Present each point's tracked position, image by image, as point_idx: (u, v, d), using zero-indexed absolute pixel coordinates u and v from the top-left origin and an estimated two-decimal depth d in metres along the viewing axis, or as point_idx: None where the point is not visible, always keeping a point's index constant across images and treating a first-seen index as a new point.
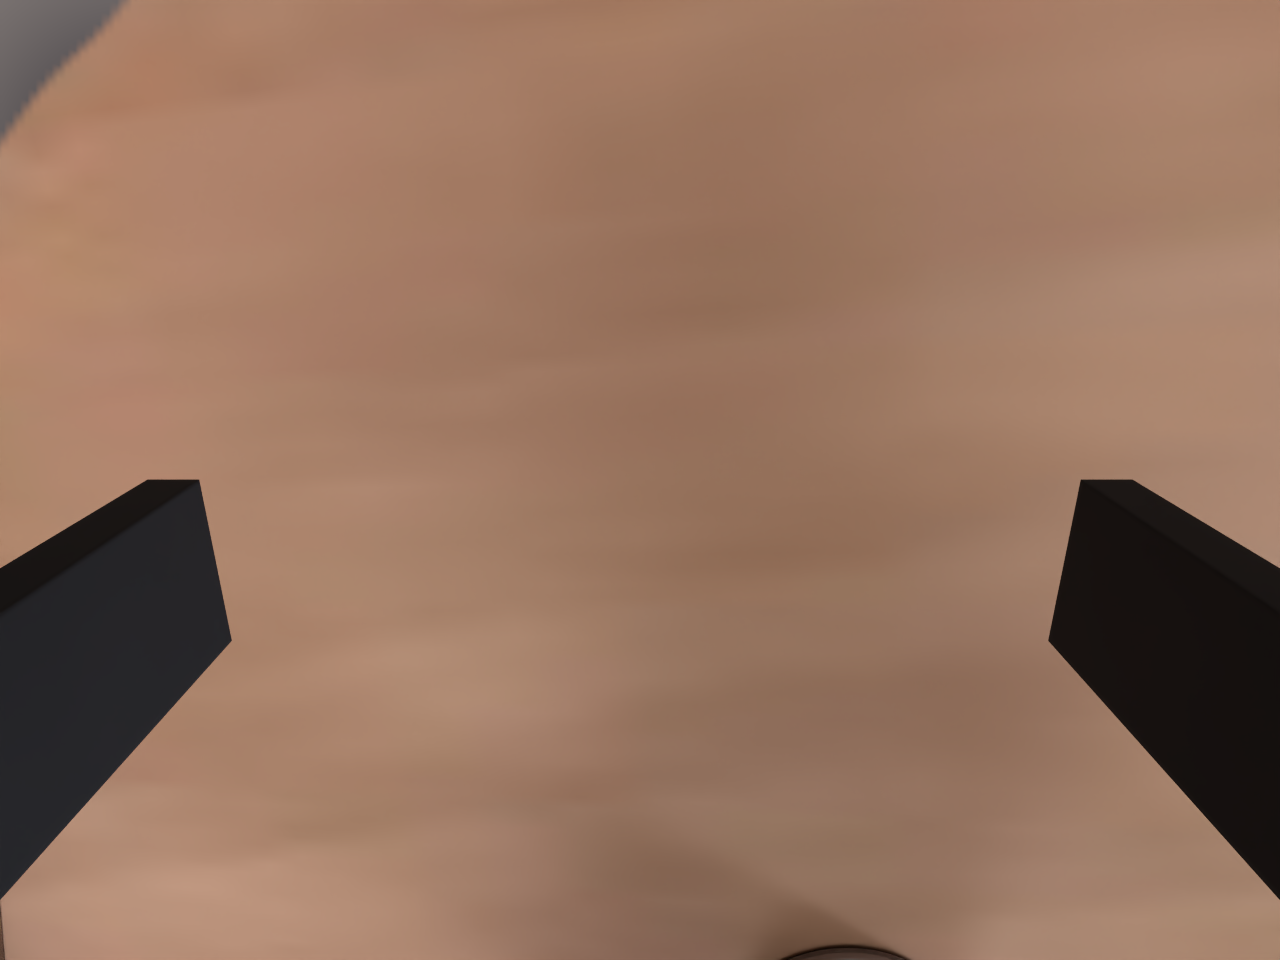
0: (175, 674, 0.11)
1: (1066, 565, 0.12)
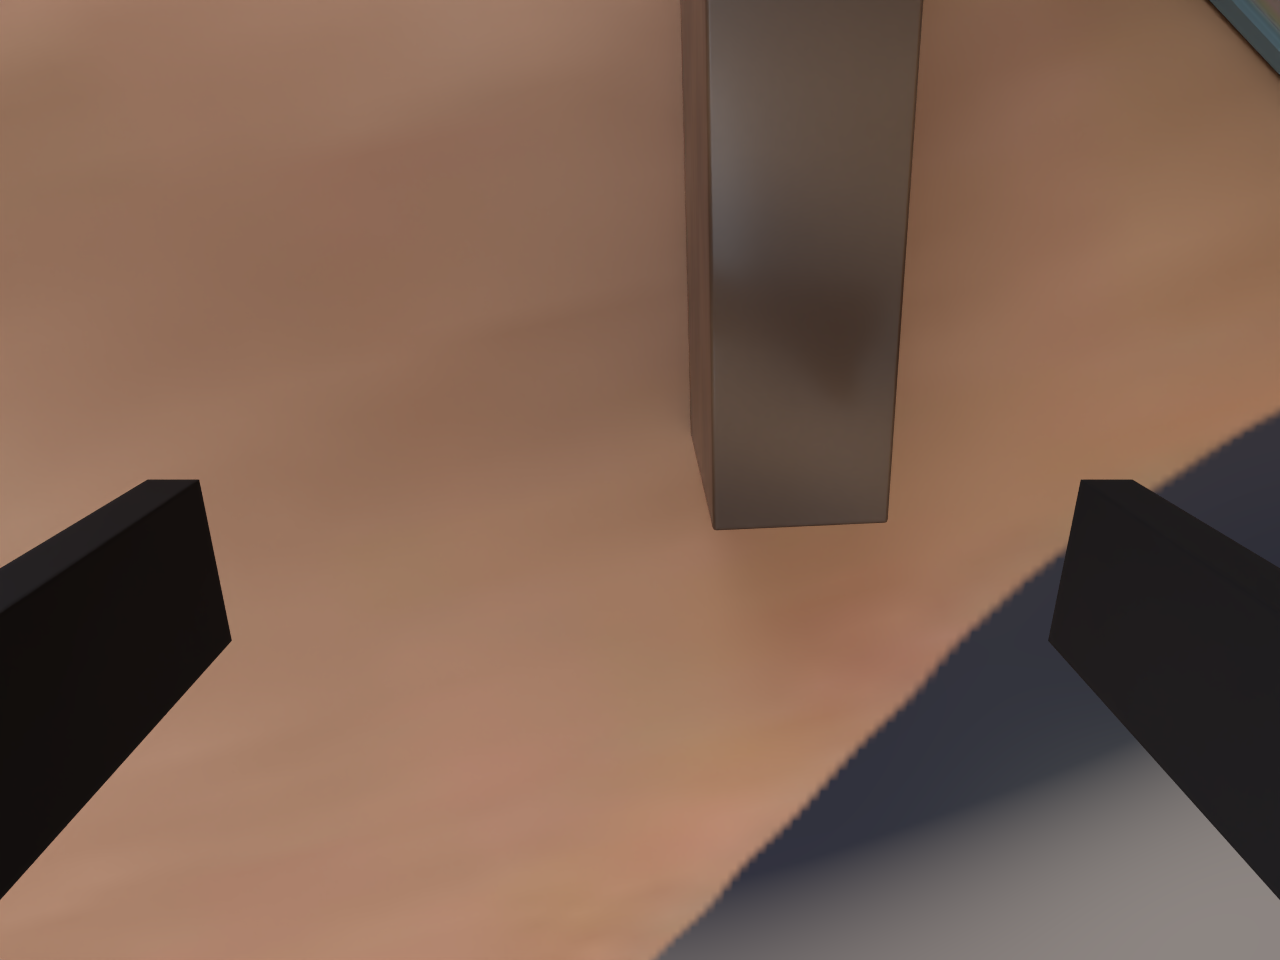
0: (175, 674, 0.11)
1: (1067, 565, 0.12)
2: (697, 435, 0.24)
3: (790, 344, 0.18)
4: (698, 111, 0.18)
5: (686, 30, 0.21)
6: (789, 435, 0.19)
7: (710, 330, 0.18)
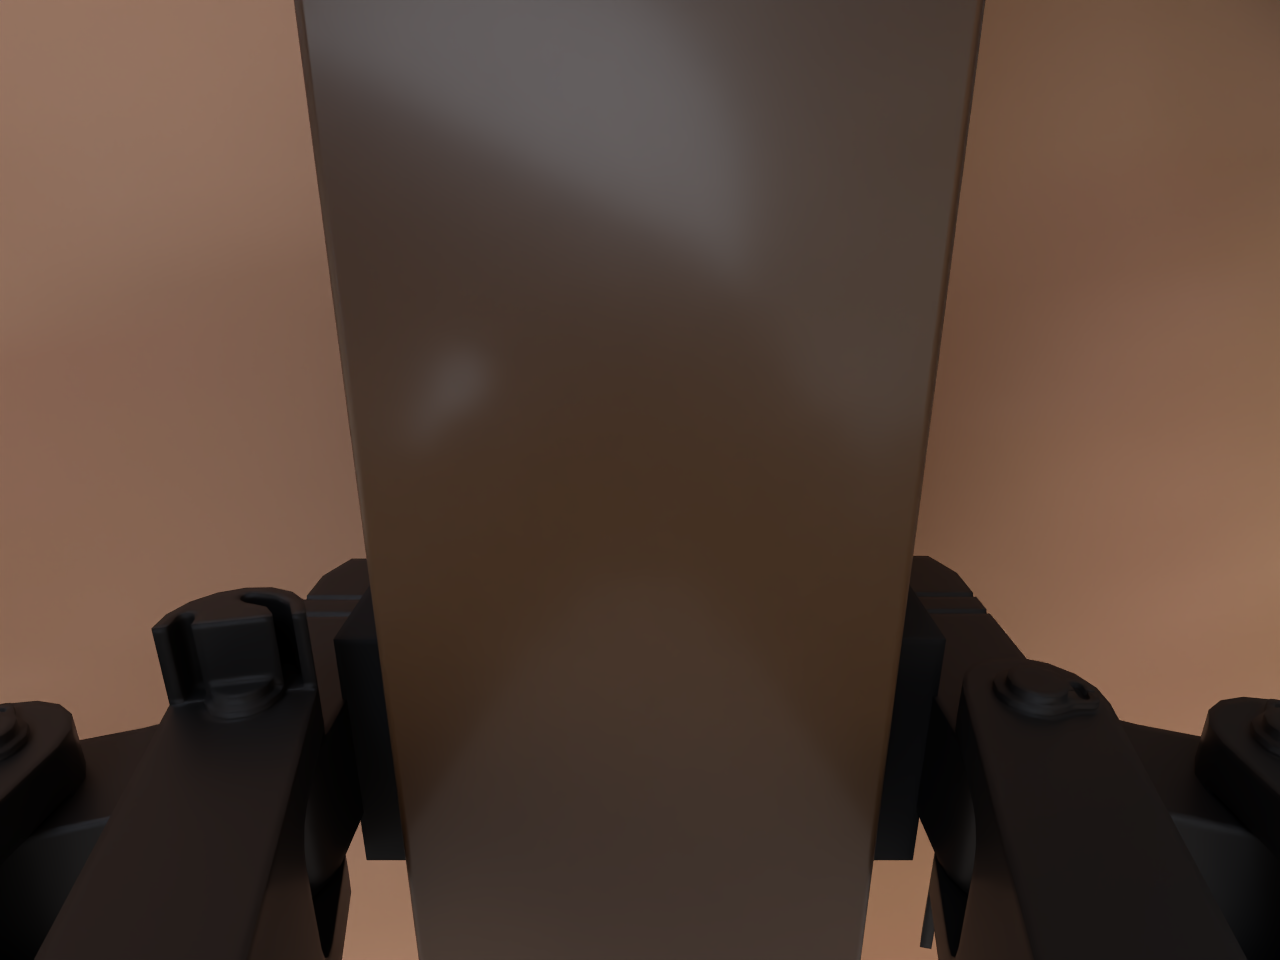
0: None
1: None
2: None
3: None
4: None
5: None
6: None
7: None
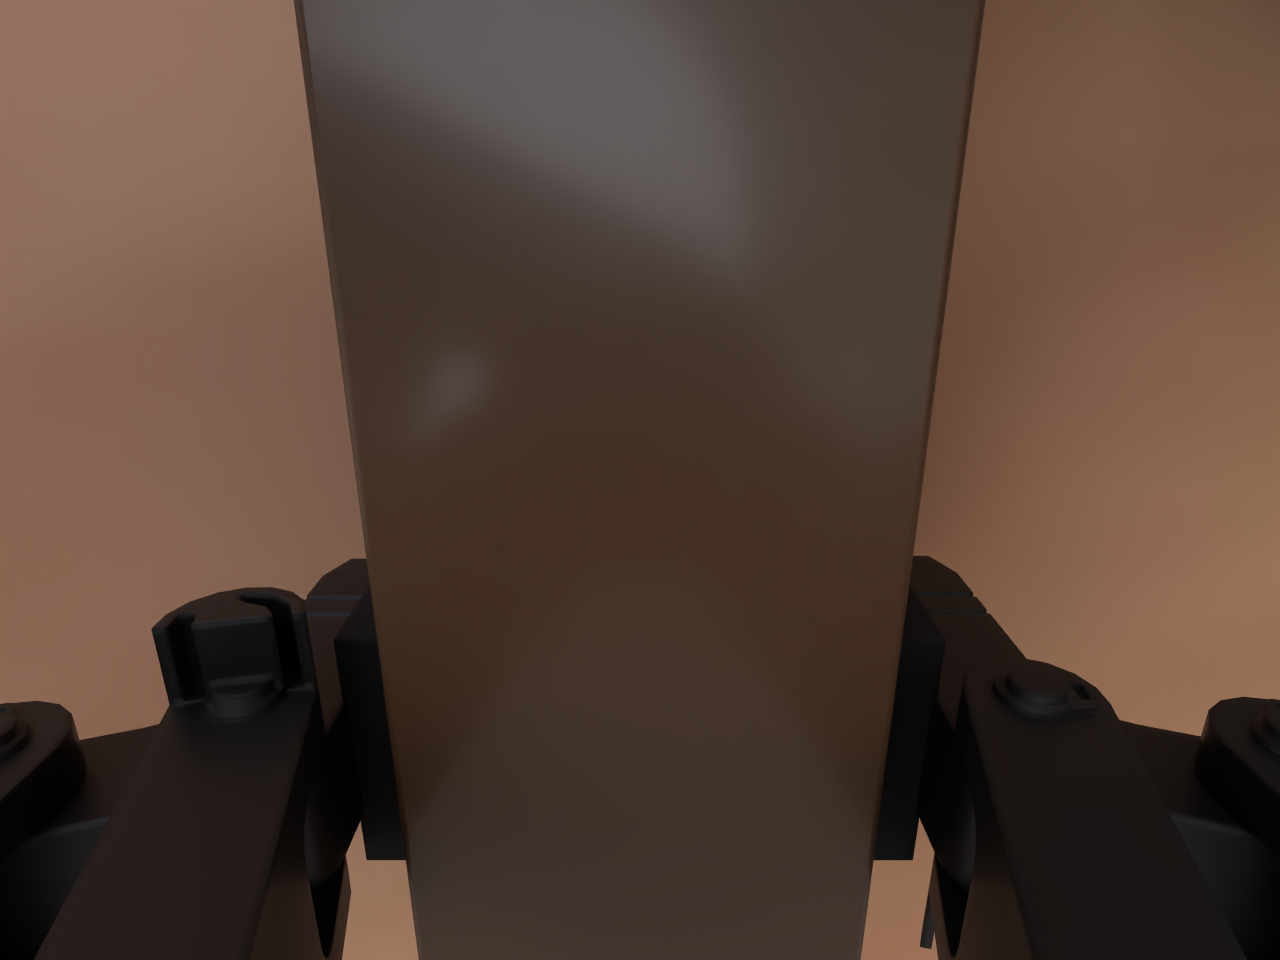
0: None
1: None
2: None
3: None
4: None
5: None
6: None
7: None
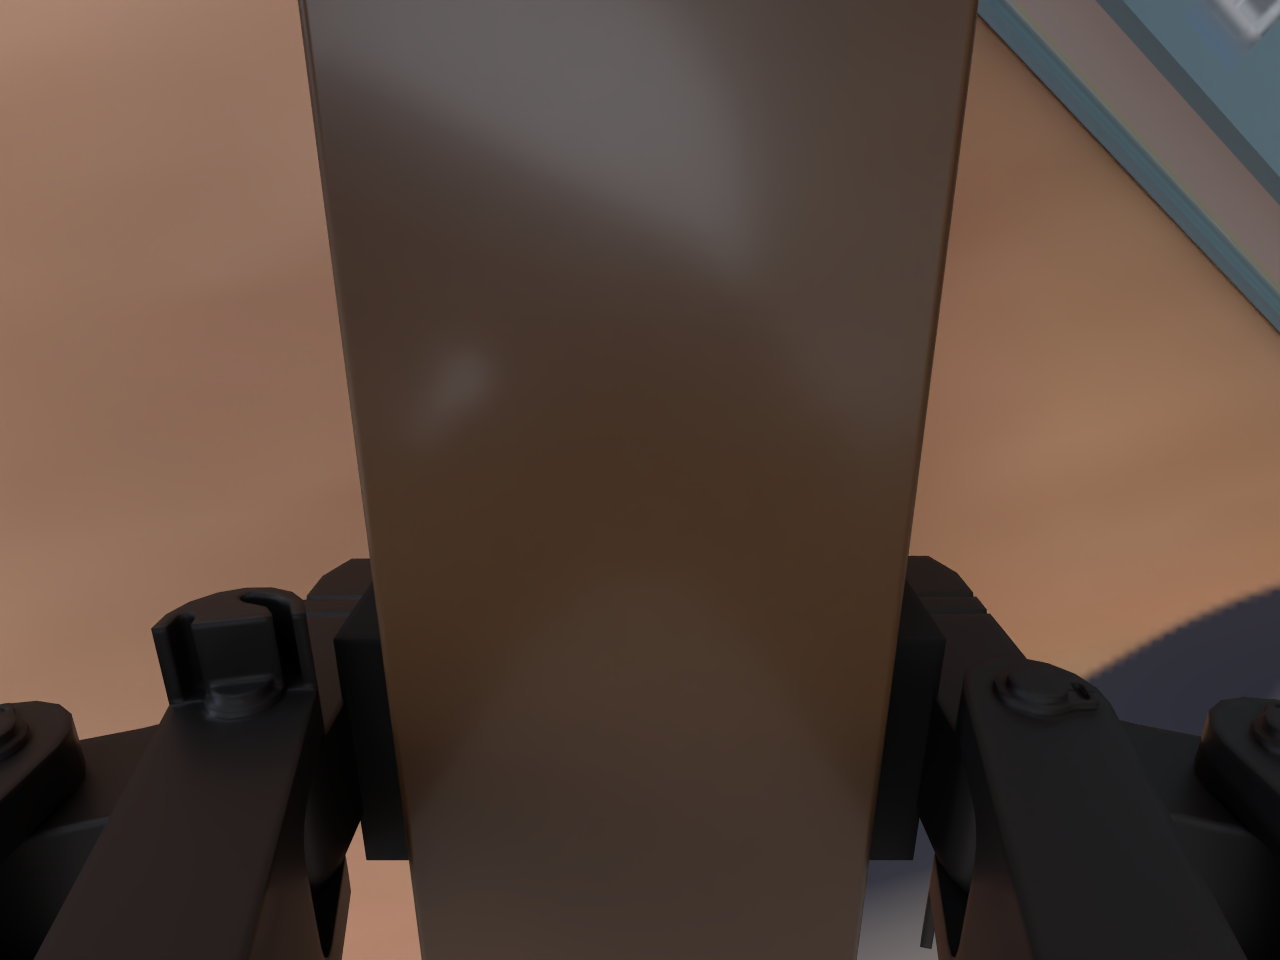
0: None
1: None
2: None
3: None
4: None
5: None
6: None
7: None
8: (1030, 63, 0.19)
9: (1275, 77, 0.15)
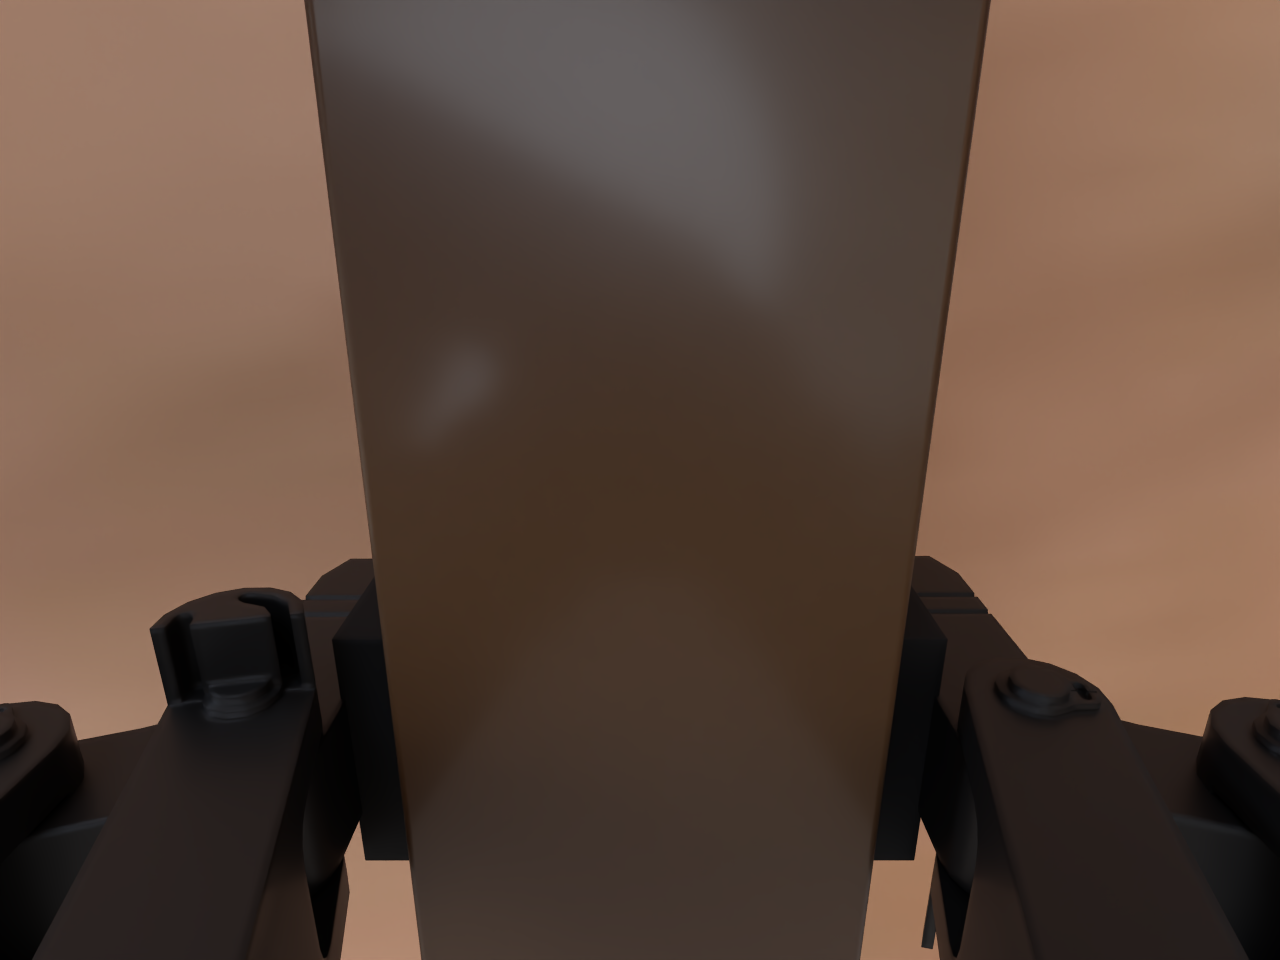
0: None
1: None
2: None
3: None
4: None
5: None
6: None
7: None
8: None
9: None
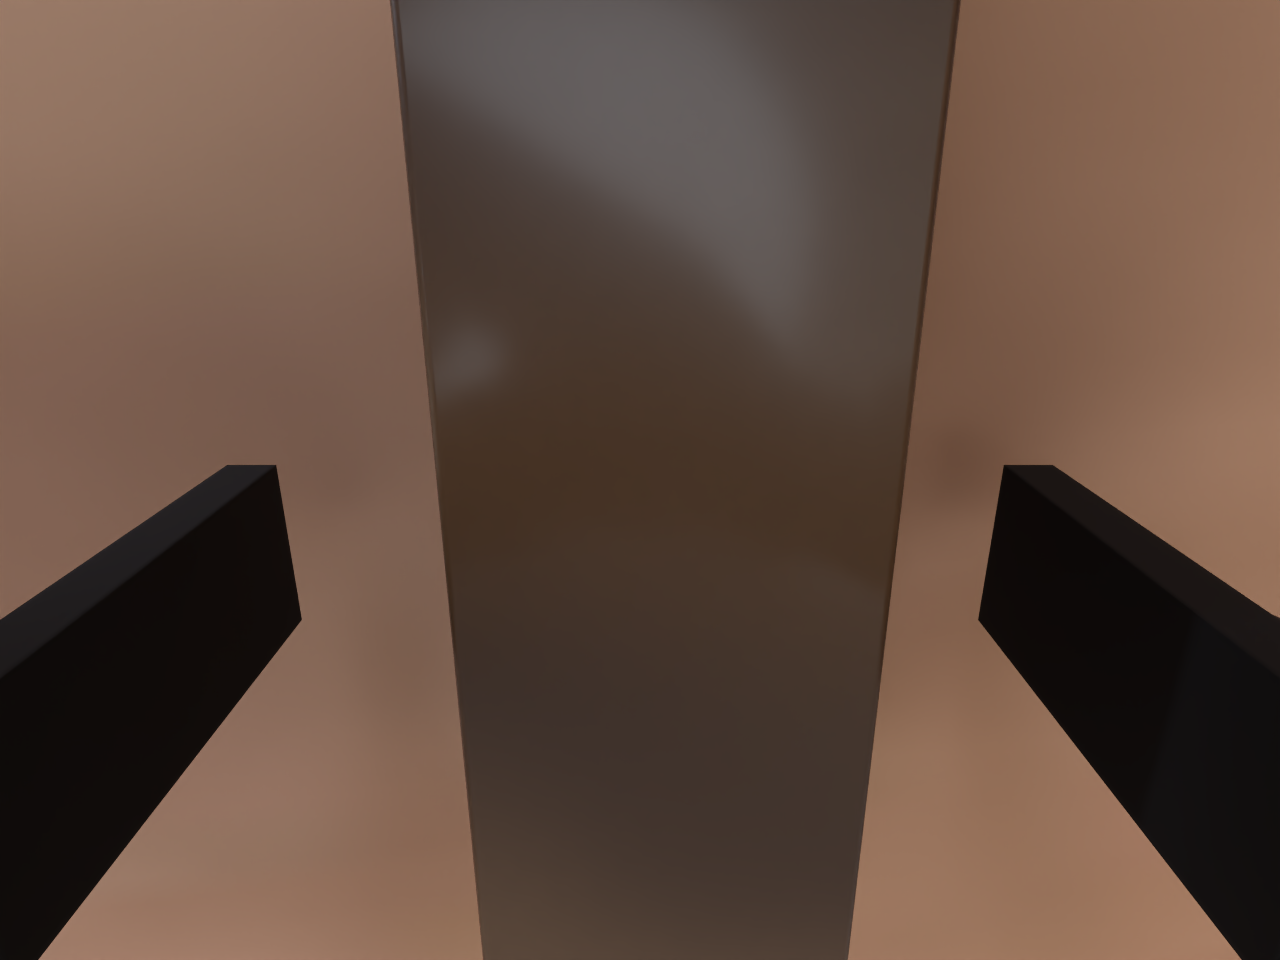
0: (258, 649, 0.12)
1: (993, 546, 0.13)
2: None
3: (636, 871, 0.09)
4: None
5: None
6: None
7: (472, 838, 0.09)
8: None
9: None
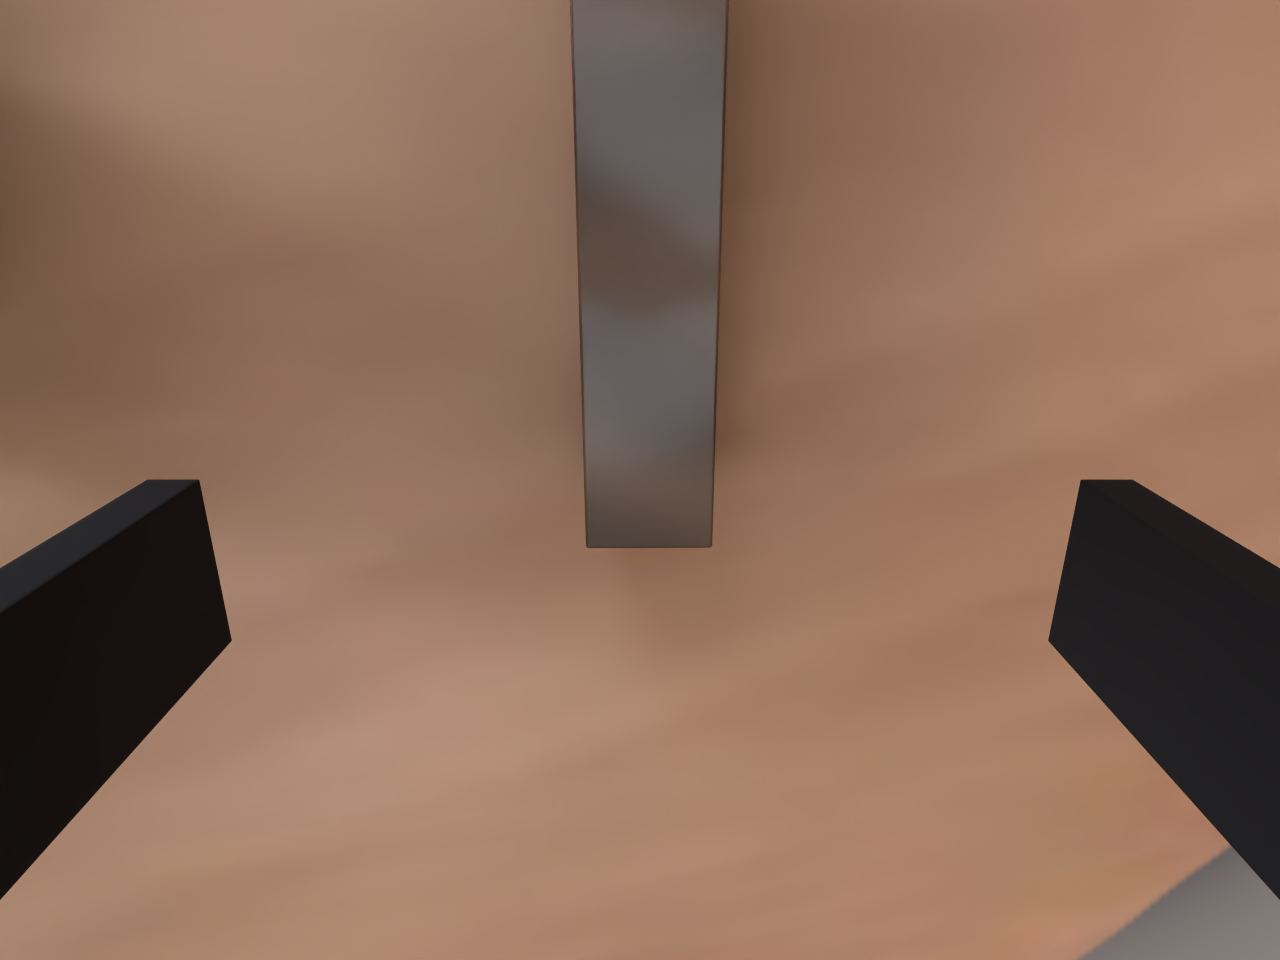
0: (175, 674, 0.11)
1: (1067, 565, 0.12)
2: None
3: (638, 420, 0.26)
4: None
5: None
6: (639, 483, 0.27)
7: (582, 408, 0.26)
8: None
9: None
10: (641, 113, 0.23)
